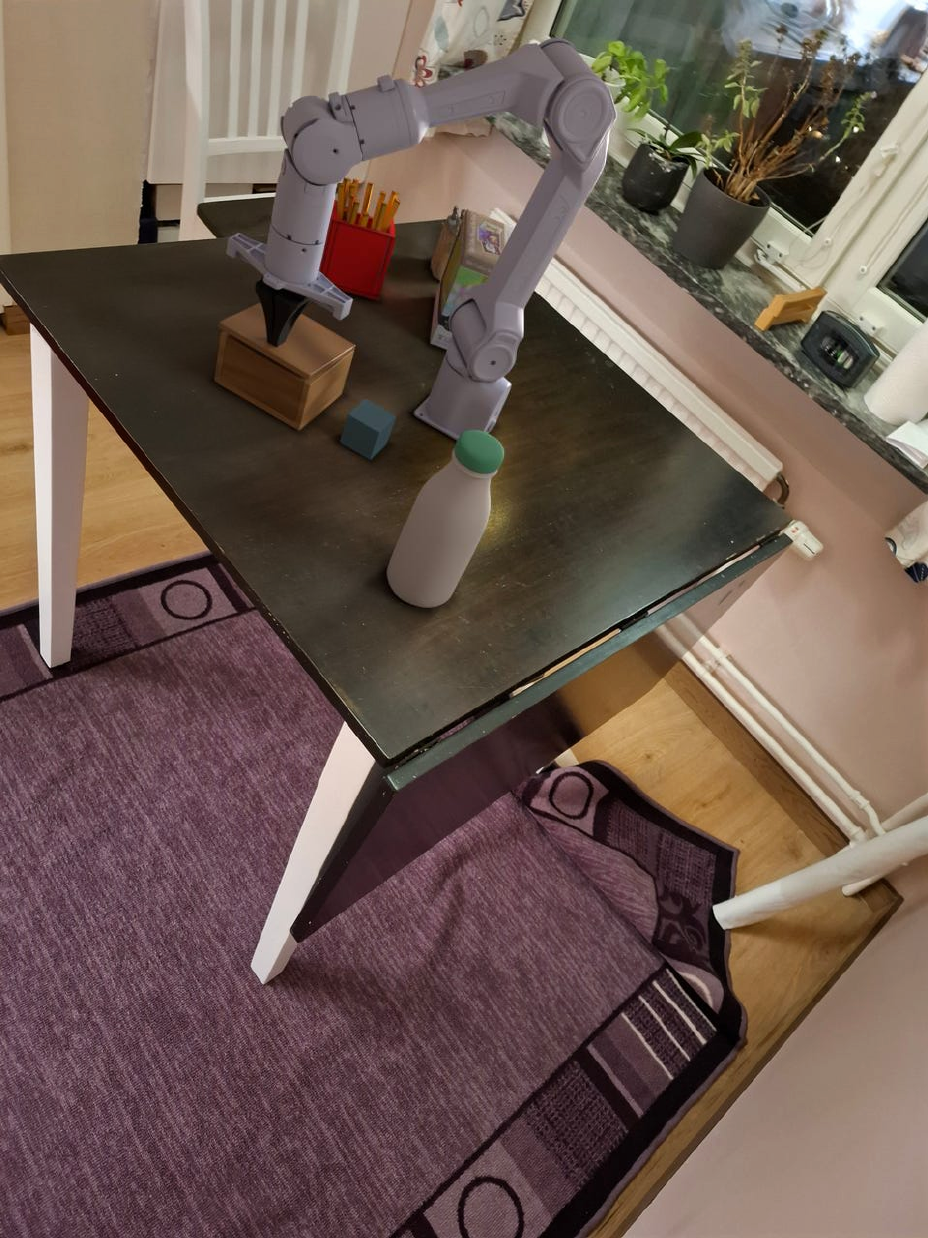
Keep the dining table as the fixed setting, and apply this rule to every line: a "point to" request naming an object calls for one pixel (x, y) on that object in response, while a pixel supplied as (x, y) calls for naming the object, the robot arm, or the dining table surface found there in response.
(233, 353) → the box
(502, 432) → the dining table surface
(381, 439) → the block
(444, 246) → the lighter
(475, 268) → the tea box
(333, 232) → the french fries container
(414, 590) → the milk bottle
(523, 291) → the robot arm
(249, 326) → the box lid
